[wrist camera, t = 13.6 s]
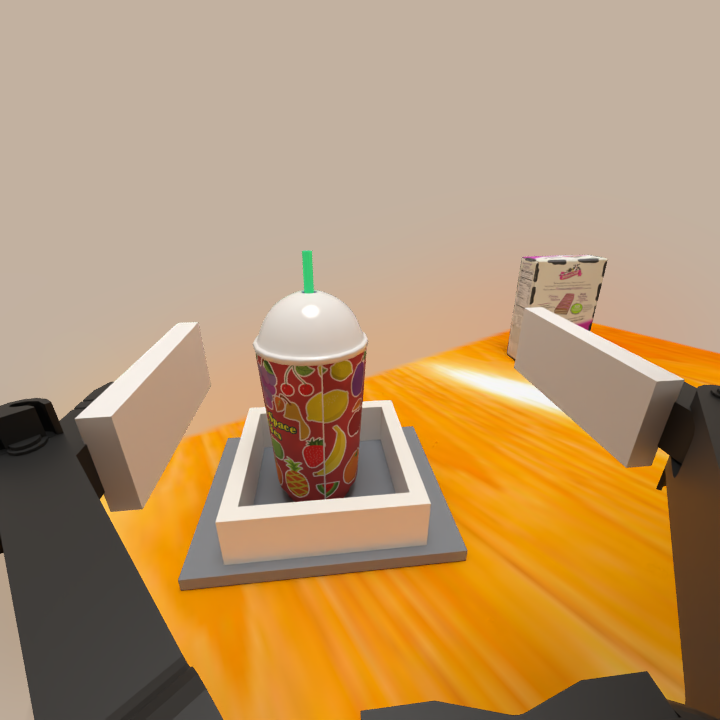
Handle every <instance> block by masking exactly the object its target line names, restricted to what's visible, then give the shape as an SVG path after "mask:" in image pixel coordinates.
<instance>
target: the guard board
mask: <svg viewBox="0 0 720 720" xmlns="http://www.w3.org/2000/svg"><path fill="white" fill-rule="evenodd" d="M466 556H467V549H466V546H465V544H464V542H463V540H462V537H461V535H460V533H459V530H458V528H457V526H456V524H455V521H454V519H453V517H452V514H451V512H450V510H449V508H448V505H447V503H446V501H445V498H444V496H443V494H442V492H441V489H440V487H439V485H438V482H437V480H436V478H435V476H434V473H433V471H432V469H431V466H430V464H429V462H428V460H427V457H426V455H425V453H424V450H423V448H422V446H421V444H420V441H419V439H418V437H417V434H416V432H415V430H414V428H413V426H412V427H401V425H400V422H399V420H398V417H397V414H396V412H395V409H394V407H393V404H392V401H391V400H384V401H366V402H363V403H362V417H361V430H360V443H359V457H358V470H357V476H356V479H355V482H354V483H353V484H352V485H351V487H350V489H349V492H348V493H347V494H346V495H345V497H344V498H337V499H325V500H313V501H302V502H294V501H293V500H292V499H291V498H290V497H289V495H288V493H287V492H286V491H285V490H284V489H283V488H282V487H281V485H280V482H279V480H278V474H277V468H276V463H275V457H274V452H273V446H272V441H271V435H270V430H269V424H268V419H267V414H266V408H265V407H260V408H250V409H249V412H248V415H247V419H246V422H245V425H244V429H243V432H242V435H241V438H228V440H227V443H226V446H225V449H224V451H223V454H222V457H221V460H220V463H219V466H218V469H217V471H216V474H215V477H214V480H213V483H212V486H211V488H210V491H209V494H208V497H207V500H206V503H205V505H204V508H203V511H202V514H201V517H200V520H199V523H198V525H197V528H196V531H195V534H194V537H193V540H192V542H191V545H190V548H189V551H188V554H187V557H186V559H185V562H184V565H183V568H182V571H181V574H180V577H179V579H178V582H179V585H180V589H181V590H189V589H199V588H208V587H218V586H227V585H237V584H246V583H256V582H265V581H275V580H284V579H294V578H303V577H313V576H322V575H331V574H341V573H350V572H360V571H369V570H379V569H388V568H398V567H407V566H417V565H426V564H436V563H445V562H455V561H464V560H466Z"/></svg>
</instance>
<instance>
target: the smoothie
mask: <svg viewBox="0 0 720 720" xmlns="http://www.w3.org/2000/svg"><path fill="white" fill-rule="evenodd" d="M302 256H303V276H304V290H302V291H298V292H295V293H292V294H290V295H288V296H286V297H284V298H283V299H281V300H280V301H278V302H277V303H276V304H275V305H274V306H273V307H272V308H271V310H270V311H269V313H268V314H267V316H266V317H265V319H264V321H263V324H262V326H261V329H260V332H259V335H258V336H257V337H256V339H255V341H254V343H253V347H254V349H255V352H256V359H257V364H258V370H259V375H260V381H261V386H262V392H263V397H264V403H265V408H266V414H267V419H268V424H269V430H270V435H271V441H272V446H273V452H274V457H275V463H276V468H277V474H278V480H279V482H280V485H281V487H282V488H283V489H284V490H285V491H286V492H287V493H288V495H289V497H290V498H291V499H292V500H293V501H294V502H302V501H313V500H325V499H337V498H344V497H345V495H346V494H347V493H348V492H349V489H350V487H351V485H352V484H353V483H354V482H355V479H356V476H357V470H358V457H359V443H360V430H361V417H362V403H363V390H364V377H365V364H366V347H367V344H368V339H367V336H366V334H365V333H364V332H362V330H361V328H360V325H359V323H358V321H357V318H356V316H355V315H354V313H353V312H352V311H351V309H350V308H349V307H348V306H347V305H346V304H345V303H344V302H342V301H341V300H339V299H338V298H336V297H335V296H333V295H331V294H328V293H325V292H322V291H318V290H314V289H313V287H314V286H313V266H312V251H302Z"/></svg>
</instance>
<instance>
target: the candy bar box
mask: <svg viewBox="0 0 720 720" xmlns="http://www.w3.org/2000/svg"><path fill="white" fill-rule="evenodd" d="M607 260H608V259H606V258H602V257H597V256H592V255H563V256H535V257H522V260H521V266H520V272H519V279H518V285H517V292H516V298H515V305H514V311H513V318H512V324H511V330H510V336H509V343H508V349H507V354H508V355H509V356H510V357H511V358H513V359H514V360H516V354H517V349H518V343H519V337H520V331H521V326H522V320H523V314H524V309H525V308H535V307H543V308H545V309H547V310H549V311H551V312H553V313H555V314H556V315H558V316H560V317H562V318H564V319H566V320H568V321H570V322H572V323H574V324H576V325H578V326H580V327H582V328H584V329H586V330H588V331H590V330H591V325H592V322H593V317H594V313H595V309H596V305H597V301H598V297H599V293H600V289H601V284H602V280H603V277H604V273H605V268H606V264H607Z"/></svg>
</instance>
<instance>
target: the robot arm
mask: <svg viewBox="0 0 720 720" xmlns="http://www.w3.org/2000/svg"><path fill="white" fill-rule="evenodd" d="M514 368H515V369H516V370H517V371H518V372H519V373H521V374H522V375H523V376H524V377H525V378H526V379H527V380H528V381H529V382H531V383H532V384H533V385H534V386H535V387H536V388H537V389H538V390H540V391H541V392H542V393H543V394H544V395H545V396H546V397H547V398H549V399H550V400H551V401H552V402H553V403H554V404H555V405H556V406H558V407H559V408H560V409H561V410H562V411H563V412H564V413H565V414H567V415H568V416H569V417H570V418H571V419H572V420H573V421H574V422H576V423H577V424H578V425H579V426H580V427H581V428H582V429H583V430H585V431H586V432H587V433H588V434H589V435H590V436H591V437H592V438H593V439H595V440H596V441H597V442H598V443H599V444H600V445H601V446H602V447H604V448H605V449H606V450H607V451H608V452H609V453H610V454H611V455H613V456H614V457H615V458H616V459H617V460H618V461H619V462H620V463H622V464H623V465H624V466H625V467H626V468H628V467H640V466H651V465H652V462H653V460H654V457H655V454H656V452H657V449H658V447H659V448H661V449H662V450H663V451H665V452H666V453H667V454H669V455H670V456H669V459H668V461H667V464H666V466H665V469H664V471H663V474H662V476H661V478H660V481H659V483H658V486H657V488H656V489H658V490H662V488H663V486H667V496H668V507H669V518H670V529H671V540H672V551H673V562H674V573H675V584H676V594H677V605H678V616H679V627H680V638H681V649H682V660H683V671H684V682H685V697H686V701H685V705H684V704H681V703H677V702H674V701H671V700H667V699H666V698H665V697H664V695H663V694H662V692H661V691H660V689H659V688H658V686H657V685H656V683H655V682H654V681H653V679H652V678H651V676H650V675H649V673H648V672H647V671H646V672H638V673H631V674H624V675H617V676H610V677H602V678H595V679H588V680H581V681H579V682H577V683H576V684H574V685H572V686H570V687H569V688H567V689H565V690H564V691H562V692H560V693H558V694H557V695H555V696H553V697H552V698H550V699H548V700H546V701H545V702H543V703H541V704H540V705H538V706H536V707H534V708H533V709H531V710H529V711H528V712H526V713H524V714H521V715H508V714H503V713H497V712H492V711H487V710H481V709H476V708H471V707H465V706H460V705H455V704H449V703H444V702H439V701H429V702H422V703H415V704H407V705H400V706H393V707H386V708H379V709H371V710H364V711H361V720H720V386H717V385H702V386H699V387H698V388H695V387H693V386H691V385H690V384H688V383H686V382H684V379H682V378H680V377H678V376H676V375H674V374H672V373H670V372H668V371H667V370H665V369H663V368H661V367H659V366H657V365H655V364H653V363H651V362H649V361H647V360H645V359H643V358H641V357H639V356H637V355H635V354H633V353H631V352H629V351H627V350H625V349H623V348H621V347H619V346H617V345H615V344H613V343H612V342H610V341H608V340H606V339H604V338H602V337H600V336H598V335H596V334H594V333H592V332H590V331H588V330H586V329H584V328H582V327H580V326H578V325H576V324H574V323H572V322H570V321H568V320H566V319H564V318H562V317H560V316H558V315H556V314H555V313H553V312H551V311H549V310H547V309H545V308H543V307H535V308H525V309H524V314H523V320H522V326H521V331H520V337H519V343H518V349H517V354H516V360H515V366H514ZM210 387H211V382H210V377H209V372H208V367H207V363H206V358H205V352H204V348H203V342H202V337H201V333H200V327H199V322H190V323H177V324H176V325H175V326H174V327H173V328H172V329H171V330H170V331H169V332H168V333H167V334H165V335H164V336H163V337H162V338H161V339H160V340H159V341H158V342H157V343H156V344H155V345H154V346H153V347H151V348H150V349H149V350H148V351H147V352H146V353H145V354H144V355H143V356H142V357H141V358H140V359H139V360H138V361H136V362H135V363H134V364H133V365H132V366H131V367H130V368H129V369H128V370H127V371H126V372H124V373H123V374H122V375H121V376H120V377H119V378H118V379H117V380H116V381H115V382H110V383H107V384H106V385H104V386H102V387H100V388H98V389H96V390H94V391H93V392H92V393H91V394H90V395H89V396H87V397H86V398H85V399H84V400H83V402H80V403H79V404H78V405H77V406H76V407H75V408H74V410H72V411H70V412H69V413H68V414H67V415H66V416H65V417H64V418H62V419H61V420H60V421H59V420H58V417H57V415H56V413H55V410H54V408H53V405H52V403H51V402H50V401H49V400H47V399H41V398H33V399H24V400H19V401H15V402H10V403H7V404H4V405H1V406H0V554H1V553H4V557H5V562H6V567H7V573H8V578H9V584H10V589H11V594H12V600H13V606H14V611H15V616H16V622H17V627H18V633H19V638H20V644H21V649H22V654H23V660H24V665H25V671H26V675H27V682H28V687H29V693H30V698H31V703H32V709H33V714H34V720H223V718H222V717H221V715H220V713H219V711H218V709H217V707H216V706H215V704H214V702H213V700H212V698H211V696H210V695H209V693H208V691H207V689H206V687H205V686H204V684H203V682H202V680H201V679H200V677H199V675H198V673H197V672H196V671H195V669H194V668H193V667H190V666H189V665H188V664H187V662H186V660H185V658H184V657H183V655H182V653H181V651H180V649H179V647H178V646H177V644H176V642H175V640H174V638H173V636H172V634H171V632H170V631H169V629H168V627H167V625H166V623H165V621H164V619H163V617H162V616H161V614H160V612H159V610H158V608H157V606H156V604H155V602H154V601H153V599H152V597H151V595H150V593H149V591H148V589H147V588H146V586H145V584H144V582H143V580H142V578H141V576H140V574H139V573H138V571H137V569H136V567H135V565H134V563H133V561H132V559H131V558H130V556H129V554H128V552H127V550H126V548H125V546H124V544H123V543H122V541H121V539H120V537H119V535H118V533H117V531H116V530H115V528H114V526H113V524H112V522H111V520H110V518H109V516H108V515H107V513H106V511H105V509H104V507H103V505H102V503H101V501H100V498H101V497H102V496H103V494H104V496H105V498H106V501H107V503H108V506H109V509H110V511H111V512H114V511H126V510H137V509H143V508H144V506H145V504H146V502H147V500H148V499H149V497H150V495H151V493H152V491H153V490H154V488H155V486H156V484H157V482H158V481H159V479H160V477H161V475H162V473H163V471H164V470H165V468H166V466H167V464H168V462H169V461H170V459H171V457H172V455H173V453H174V452H175V450H176V448H177V446H178V444H179V443H180V441H181V439H182V437H183V435H184V434H185V432H186V430H187V428H188V426H189V425H190V423H191V421H192V419H193V417H194V416H195V414H196V412H197V410H198V408H199V406H200V405H201V403H202V401H203V399H204V398H205V396H206V394H207V392H208V390H209V389H210Z"/></svg>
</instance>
